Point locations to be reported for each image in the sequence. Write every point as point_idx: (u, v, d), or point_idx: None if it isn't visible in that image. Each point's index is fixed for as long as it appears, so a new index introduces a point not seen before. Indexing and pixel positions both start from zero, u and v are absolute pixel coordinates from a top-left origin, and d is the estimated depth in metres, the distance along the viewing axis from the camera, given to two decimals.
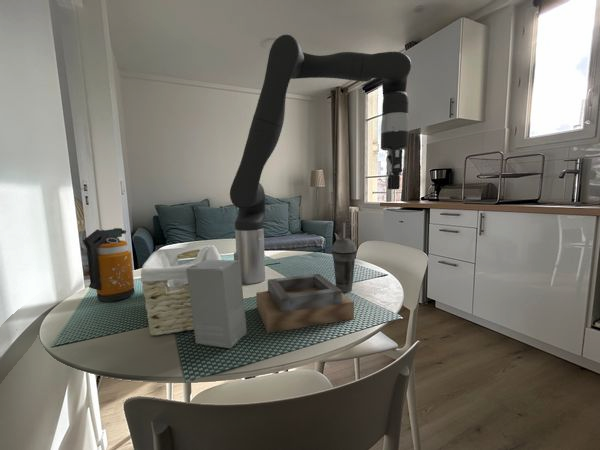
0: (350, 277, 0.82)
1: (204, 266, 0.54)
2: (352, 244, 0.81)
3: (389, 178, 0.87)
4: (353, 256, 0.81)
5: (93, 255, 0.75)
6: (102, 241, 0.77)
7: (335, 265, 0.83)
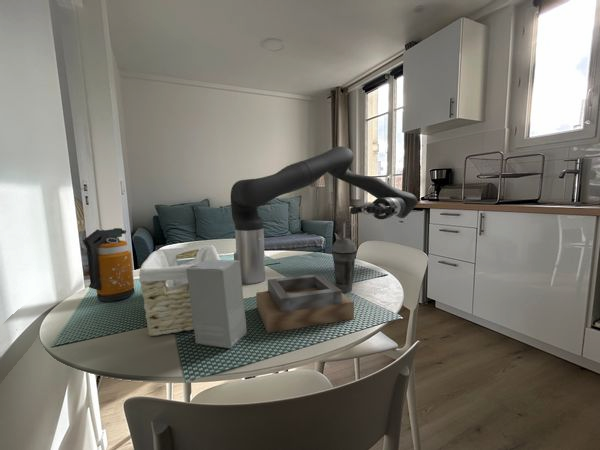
0: (350, 277, 0.82)
1: (204, 266, 0.54)
2: (352, 244, 0.81)
3: (357, 208, 0.95)
4: (353, 256, 0.81)
5: (93, 255, 0.75)
6: (102, 241, 0.77)
7: (335, 265, 0.83)
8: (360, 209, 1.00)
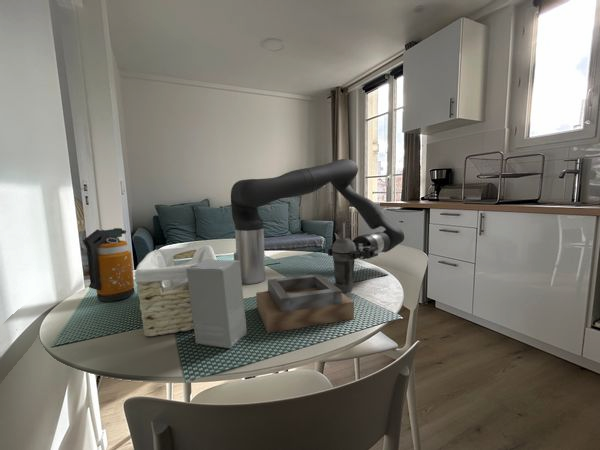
0: (350, 277, 0.82)
1: (204, 266, 0.54)
2: (352, 244, 0.81)
3: None
4: None
5: (93, 255, 0.75)
6: (102, 241, 0.77)
7: (335, 265, 0.83)
8: None
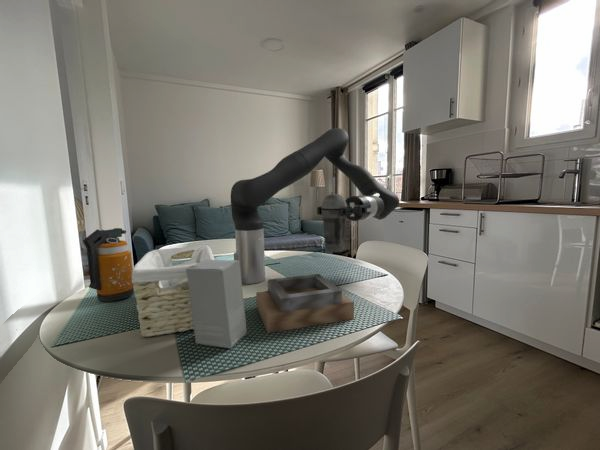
0: (340, 236, 0.77)
1: (204, 266, 0.54)
2: (342, 200, 0.76)
3: None
4: None
5: (93, 255, 0.75)
6: (102, 241, 0.77)
7: (324, 223, 0.77)
8: None
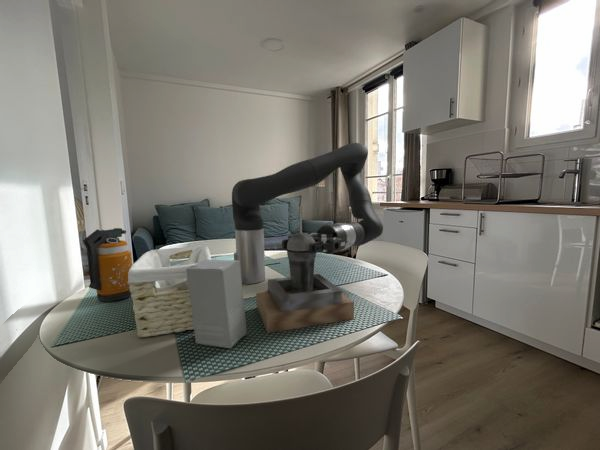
0: (308, 281, 0.66)
1: (204, 266, 0.54)
2: (310, 240, 0.65)
3: None
4: (311, 255, 0.65)
5: (93, 255, 0.75)
6: (102, 241, 0.77)
7: (290, 266, 0.67)
8: None
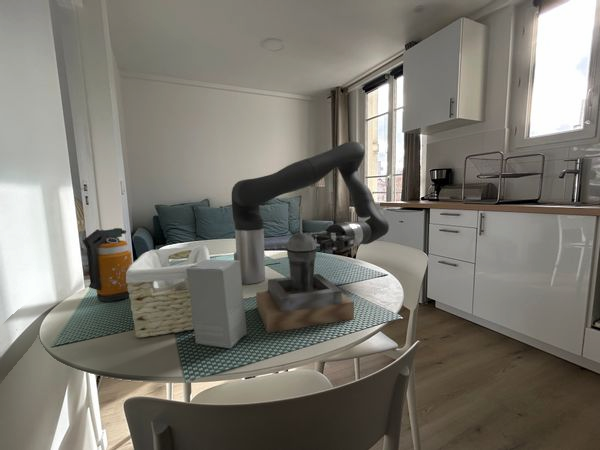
0: (308, 281, 0.66)
1: (204, 266, 0.54)
2: (310, 240, 0.65)
3: None
4: (311, 255, 0.65)
5: (93, 255, 0.75)
6: (102, 241, 0.77)
7: (290, 266, 0.67)
8: None
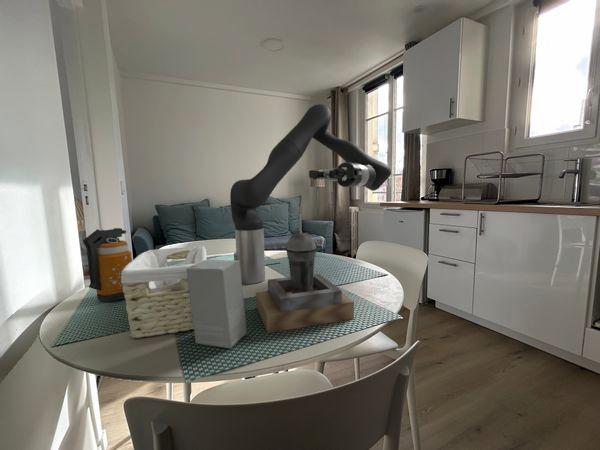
0: (308, 281, 0.66)
1: (204, 266, 0.54)
2: (310, 240, 0.65)
3: (318, 171, 0.84)
4: (311, 255, 0.65)
5: (93, 255, 0.75)
6: (102, 241, 0.77)
7: (290, 266, 0.67)
8: (323, 175, 0.89)
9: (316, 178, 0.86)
